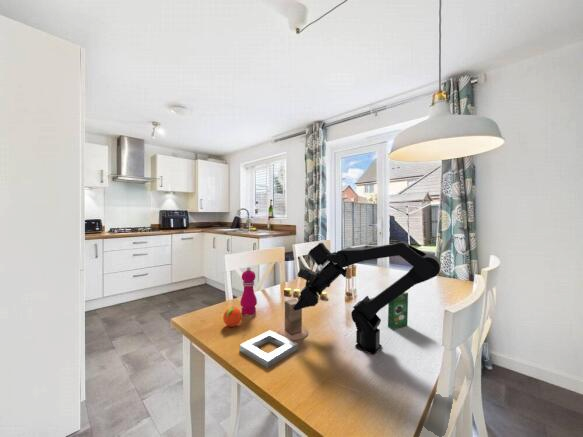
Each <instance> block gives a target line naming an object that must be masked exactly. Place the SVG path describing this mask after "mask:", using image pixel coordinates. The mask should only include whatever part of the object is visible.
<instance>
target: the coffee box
mask: <svg viewBox="0 0 583 437" xmlns="http://www.w3.org/2000/svg"><path fill="white" fill-rule="evenodd" d="M387 305H388V306H387V308H388V313H387V327H388V328H389V329H391V330H396V329H399V328H402V327H403V328H404V327H407V326H408V313H409V312H408V311H409V307H408V306H409V293H408V292H407V291H405V292H404V293H403V294H401V295H400V296H398V297H397V298H396V299H394V300H393V301H391V302H390V303H389V304H387Z"/></svg>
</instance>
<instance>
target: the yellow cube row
mask: <svg viewBox="0 0 583 437" xmlns="http://www.w3.org/2000/svg"><path fill="white" fill-rule="evenodd" d="M300 292H301V289H298V288H294V289H293V290H292V288H290V287H289V288H287V287H285V288H284V289H283V296H288V295H290V294H291V293H292V294H291V295H292V297H298V296H299V295H300ZM317 294H318V293H317ZM291 295H290V296H291ZM318 295H319V294H318ZM327 298H328V292H327V291H322V294H321V295H319V300H327Z"/></svg>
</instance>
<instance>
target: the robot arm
mask: <svg viewBox="0 0 583 437" xmlns="http://www.w3.org/2000/svg"><path fill="white" fill-rule="evenodd" d="M307 255H308V256H309V257H310V258H311V260H313V262H314V263H315V264H316V265H317V267H320V266H322V269H320V270H318V271H316V272H315V271H314V270H313V269H310V268H308V267H306V266H305V265H301V266H300V269H299V270H298V272H297V275H296V276H297V277H298V278H300V279H303V280H306V281H305V286H304V287H303V288H302V289H300V296H299V297H298V298H297V300H298V302H297V303H296V305H295V306H294V307H293V309H294V310H299V309H302V310H303V309H306V308H310V307H315V306H316V305H318V304H319V300H320V295H321V294H322V292H325V290H326V289H327V288H329V287H331V284H333V283H334V281H336V280H337V278H339V277H340V276H342V277H343V278H346V277H348V271H349V269H348V268H346V267H349V266H350V267H351V266H352V265H356V264H357V263H361V262H364V261H370V260H371V261H372V260H377V259H382V258H383V259H385V258H391V257H397V256H398V257H401V258H402V259H403V260H405V261H406V262H407V263H408V264H410V266H412V267H411V268H410V269H409V270H408V271H407V273H405V274H404V275H403V276H401V277H400V278H399V279H397V280H396V281H395V282H393V283H392V284H390V285H389V286H387V288H385V289H383V291H381V292H379V293H378V294H377V295H376V296H374V297H372V298H370V297H369V296H368V295H366V296H365V297H364V298H363V299H362V300H359V301H358V302H357V303H355V305H354V306H352V308H353V310H351V320H352V321H353V322H354V324H355V327H356V336H355V337H356V339H355V342H356V344H355V346H354V348H356V349H359V350H361V351H364V352H367V353H369V354H372V355H376V353H377V352H378V351H379V350H380V349H382V344H381V343H380V342H381V341H380V340H381V339H380V338H381V336H380V333H381V329H379V328H378V327H379V326H380V324H381V321H382V319H381V318H380V316H378V315H377V314H378V312H380V310H382V309H383V308H384V307H386V306H387V305H388V304H389V303H390V302H391V301H393V300H394V299H396V298H397V297H398V296H400V295H401V294H403V293H404V292H407V291H408V290H409V289H411V288H412V287H414V286H416V285H418V284H421V283H424V282H427V281H428V280H431V279H433V278H436V277H437V276H438V275H439V274H440V273H441V272H440V271H441V267H442V262H441V259H440V258H439V257H438V256H436V255H434V254H432V253H431V254H429V253H425V252H424V251H422V250H420V249H418V248H416V247H415V246H412V245H410V244H409V243H407V242H406V241H399V242H395V243H389V244H384V245H383V244H382V245H380V246H379V245H378V246H372V247H367V248H357V247H354V248H350V247H349V248H343V249H341V250H338V251H337V252H336V251H333V252H331V251H330V250H329V249H328V248H327V247H326V245H325V244H324V243H323V242H319V243H318V244H317V245H315V246H314V247H313V248H311V249H310V250H309V251H308V253H307ZM317 293H318V294H317Z"/></svg>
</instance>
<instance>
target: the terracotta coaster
mask: <svg viewBox="0 0 583 437" xmlns="http://www.w3.org/2000/svg"><path fill="white" fill-rule="evenodd" d="M277 334H279V335H281V336H283V337H285V338H287V339H289V340H292V341H299V340H303V339H305V338H306V337H307V336H308V334H309V331H308V329H307V328H306V327H304V325H302V332H301V333H298V334H295V335H292V336H291V335H290V334H289V333H287V332H286V331H285V325H282V326H281V327H280V328H278V330H277Z"/></svg>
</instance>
